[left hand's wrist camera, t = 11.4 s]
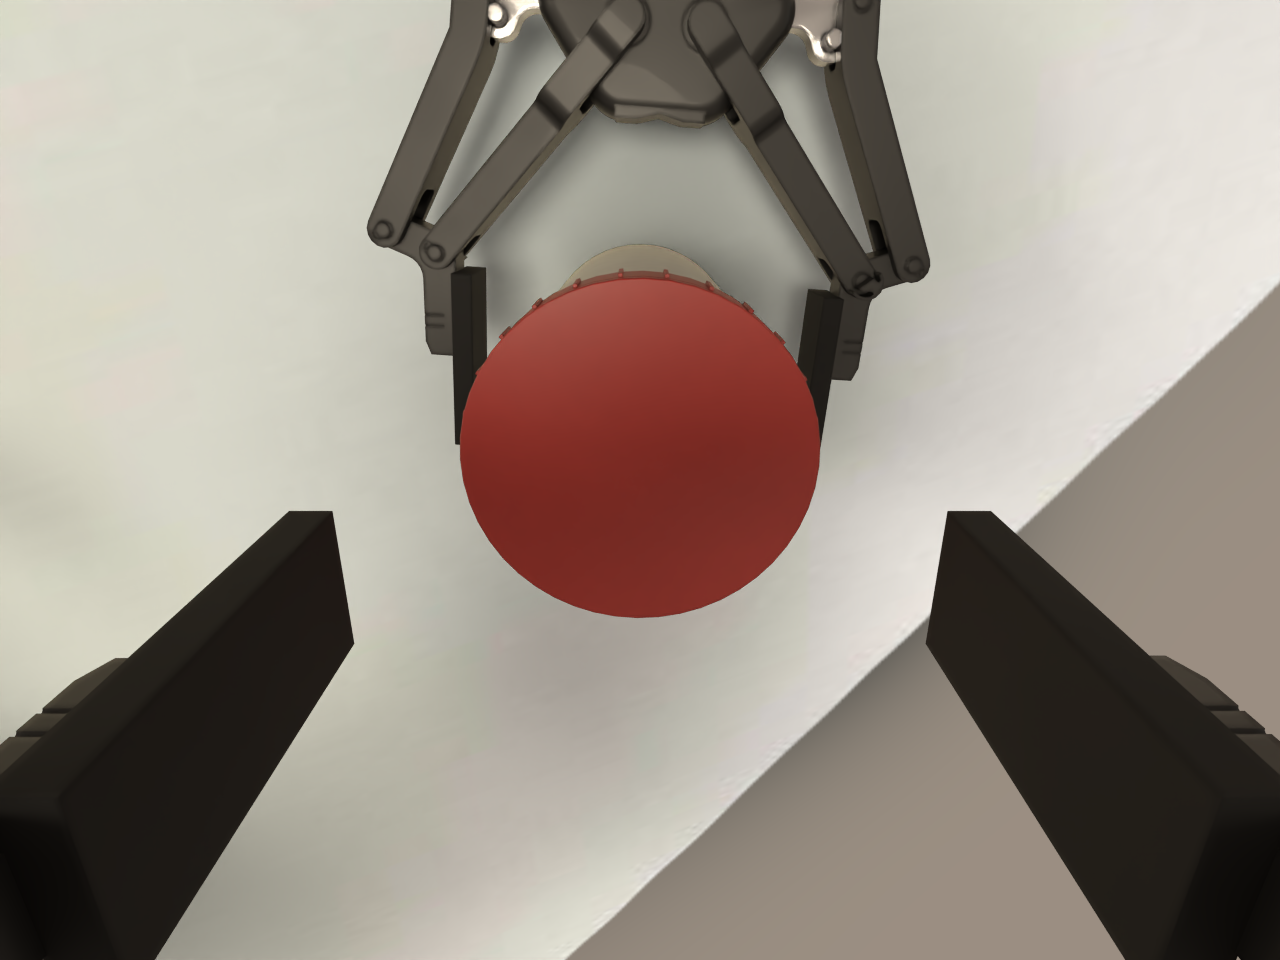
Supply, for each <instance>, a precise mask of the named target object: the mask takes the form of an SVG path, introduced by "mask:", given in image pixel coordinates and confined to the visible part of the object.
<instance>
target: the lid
mask: <svg viewBox="0 0 1280 960" xmlns="http://www.w3.org/2000/svg"><path fill="white" fill-rule="evenodd" d="M753 312H754V310H753V309H752V308H751V307H750V306H749V305H748V304H747V303H746V302H744V303H743V305H742V304H741V303H740V302H738V301H737V300H736V299H734V298H733V297H731V296H729V295H727V294H726V293H724V292H722V291H720V290H718V289H716V288H715V287H714V286H713V285H712V284H711V282H709V281H706V283H702V282H700V281H697V280H694V279H692V278H688V277H684V276H679V275H675V274H671V273H669V272H668V270H667V269H664V271H663V272H653V271H625V272H624V270H623V268H621V269H619V272H616V273H610V274H605V275H600V276H595V277H592V278H589V279H586V280H583V281H581V279H580V278H578V279H576V280H575V282H574V283H573V284H572V285H570V286H568V287H566V288H564V289H562V290H560V291H558V292H556V293H554V294H552V295H551V296H549V297H548V298H546V299H545V300H542V298H540V299H538V300H537V301H536V303H535V304H534V305H533V306H532V309H531V310H530V311H529V312H528V313H527V314H525V315H524V316H523V317H522V318H521V319H520V320H519V321H518V322H517V323H516V324H515V325H514V326H513V327H512V328H511V327H510V326H509V327H508V328H507V329H506V330H505V331H504V332H503V333H502V334H501V335H500V336H499V338H500V339H501V340H500V342H499V343H498V344H497V345H496V346H495V348H494V349H493V350H492V351H491V353H490V354H489V356H488V358H487V359H486V361H485V362H484V364H483V365H482V366H481V367H480V368H479V369H478V370H477V372H476V375H477V377H476V379H475V381H474V383H473V386H472V388H471V390H470V392H469V396H468V399H467V403H466V406H465V410H464V411H463V419H462V427H461V434H460V462H461V469H462V476H463V482H464V485H465V489H466V492H467V496H468V499H469V503H470V505H471V507H472V510H473V512H474V514H475V516H476V519H477V521H478V523H479V525H480V526H481V528H482V530H483V531H484V533H485V535H486V536H487V538H488V540H489V541H490V543H491V544H492V545H493V546H494V548H495V549H496V550H497V551H498V553H499V554H500V555H501V556H502V558H503V559H504V560H505V561H506V562H507V563H508V564H509V565H510V566H511V567H512V568H513V569H515V570H516V571H517V572H518V573H519V574H520V575H521V576H523V577H524V578H525V579H527V580H528V581H529V582H530V583H532V584H533V585H534V586H536V587H537V588H539V589H541V590H543V591H544V592H546V593H548V594H549V595H551V596H553V597H555V598H557V599H559V600H561V601H564V602H566V603H568V604H570V605H573V606H575V607H579V608H582V609H585V610H588V611H592V612H595V613H601V614H606V615H611V616H618V617H632V618H646V617H662V616H668V615H675V614H681V613H684V612H688V611H691V610H695V609H699V608H702V607H704V606H707V605H709V604H712V603H714V602H717V601H719V600H721V599H723V598H725V597H727V596H729V595H731V594H732V593H734V592H736V591H738V590H740V589H741V588H742V587H744V586H745V585H747V584H748V583H749V582H751V581H752V580H754V579H755V578H757V577H758V576H759V575H760V574H761V573H762V572H763V571H764V570H765V569H766V568H768V567H769V566H770V565H771V564H772V563H773V562H774V561H775V560H776V558H777V557H778V556H779V555H780V554H781V553H782V551H783V550H784V549H785V548H786V547H787V545H788V544H789V542H790V541H791V539H792V538H793V536H794V535H795V533H796V532H797V530H798V529H799V527H800V525H801V523H802V520H803V518H804V516H805V514H806V512H807V510H808V508H809V505H810V502H811V499H812V496H813V493H814V490H815V486H816V481H817V475H818V470H819V460H820V436H819V426H818V417H817V415H816V410H815V406H814V402H813V398H812V396H811V393H810V391H809V388H808V386H807V383H806V381H807V378H806V376H805V375H804V374H803V373H802V372H801V371H800V369H799V367H798V366H797V364H796V362H795V360H794V359H793V357H792V356H791V354H790V353H789V352H788V350H787V349H786V348H785V347H784V344H785V343H786V342H785V341H784V340H783V339H782V338H781V337H780V336H779V335H778V334H777V333H776V332H774V333H773V332H772V331H771V330H770V329H769V328H768V327H767V326H766V325H765V324H764V323H763V322H762V321H761V320H760V319H759V318H758V317H757V316H756V315H755V314H754V313H753Z"/></svg>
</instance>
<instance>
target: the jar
mask: <svg viewBox="0 0 1280 960" xmlns="http://www.w3.org/2000/svg"><path fill="white" fill-rule="evenodd" d="M621 268H623V270H624V272H625V271H653V272H663V271H664V269H667V270H668V272H669V273H671V274H675V275H679V276H684V277H688V278H692V279H694V280H697V281H700V282H702V283H706V281H709V282H711V284H712V285H713V286H714V287H715V288H716V289H718V290H720V289H719V288H718V286H717V285H716V284H715V283H714V281H713V280H712V279H711V278H710V276H709V275H708V274H707V273H706V272H705V271H704V270H703V269H702V268H701V267H700V266H699V265H697V264H696V263H694V262H693V261H692V260H690V259H689V258H687V257H685V256H683V255H682V254H680V253H678V252H675V251H673V250H670V249H667V248H664V247H659V246H655V245H645V244H637V245H626V246H621V247H616V248H613V249H610V250H607V251H604V252H602V253H600V254H598V255H596V256H594V257H593V258H591V259H590V260H588V261H587V262H585V263H584V264H583V265H582V266H581V267H579V268H578V269H577V270H576V271H575V272H574V273H573V274H572V275H571V277H570V278H569V279H568V280H567V281H566V283H565V284H564V285H563V286H562V288H561V289H560V290H562V289H564V288H566V287H568V286H570V285H572V284H573V283H574V282H575V280H576V279H578V278H580V279H581V281H583V280H586V279H589V278H592V277H595V276H600V275H605V274H610V273H616V272H619V269H621ZM560 290H559V291H560ZM720 291H721V290H720Z"/></svg>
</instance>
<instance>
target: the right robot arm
mask: <svg viewBox="0 0 1280 960" xmlns="http://www.w3.org/2000/svg"><path fill="white" fill-rule="evenodd" d="M880 3H881V0H451V13H450V27H449V29H448V32H447V34H446V37H445V39H444V41H443V44H442V46H441V49H440V51H439V53H438V56H437V58H436V60H435V63H434V65H433V68H432V70H431V72H430V75H429V77H428V80H427V82H426V84H425V87H424V89H423V91H422V94H421V96H420V99H419V101H418V103H417V106H416V108H415V111H414V113H413V115H412V118H411V120H410V122H409V125H408V127H407V130H406V132H405V134H404V137H403V139H402V142H401V144H400V146H399V149H398V151H397V153H396V156H395V158H394V161H393V163H392V165H391V168H390V170H389V173H388V175H387V177H386V180H385V182H384V184H383V187H382V189H381V192H380V194H379V196H378V199H377V201H376V204H375V206H374V208H373V211H372V213H371V215H370V218H369V220H368V224H367V231H368V235H369V237H370V239H371V240H372V241H373V242H374V243H375V244H376V245H377V246H380V247H383V248H386V247H389V248H391V249H393V250H395V251H398V252H400V253H402V254H405V255H407V256H409V257H411V258H412V259H414V260H415V261H416V262H417V263H418V265H419V266H420V268H421V270H422V273H423V280H424V305H425V324H426V327H425V330H426V342H427V344H428V347H429V349H430V351H431V354H436V355H452V356H453V380H454V416H455V444H457V445H460V434H461V427H462V419H463V411H464V410H465V406H466V403H467V399H468V396H469V392H470V390H471V388H472V386H473V383H474V381H475V379H476V377H477V375H476V372H477V370H478V369H479V368H480V367H481V366H482V365H483V364H484V362H485V361H486V359H487V316H486V268H484V267H469V266H467V267H464V260H465V259H466V258H467V256H466V255H467V254H468V253H469V252H470V250H471V249H472V248H473V247H474V246H475V244H476V243H477V242H478V241H479V240H480V238H481V237H482V236H483V235H484V234H485V233H486V231H487V230H488V229H489V228H490V227H491V225H492V224H493V223H494V222H495V221H496V219H497V218H498V217H499V216H500V215H501V213H502V212H503V211H504V210H505V209H506V207H507V206H508V205H509V204H510V203H511V201H512V200H513V199H514V198H515V197H516V195H517V194H518V193H519V192H520V191H521V190H522V188H523V187H524V186H525V185H526V184H527V182H528V181H529V180H530V179H531V178H532V176H533V175H534V174H535V173H536V172H537V170H538V169H539V168H540V167H541V166H542V164H543V163H544V162H545V161H546V160H547V158H548V157H549V156H550V155H551V154H552V152H553V151H554V150H555V149H556V148H557V147H558V145H559V144H560V143H561V142H562V141H563V139H564V138H565V137H566V136H567V135H568V134H569V133H570V132H571V131H572V130H573V129H574V128H575V127H576V126H577V125H578V124H579V123H580V121H581V120H582V119H583V118H584V117H585V115H586V114H587V113H588V112H589V111H590V110H591V108H592V107H593V106H594V105H595V106H596V108H597V109H598V110H599V111H600V112H602V113H603V114H604V115H606V116H608V117H609V118H611V119H614V120H615V121H616V122H618V123H632V124H638V123H643V122H647V121H652V120H656V119H660V120H663V121H665V122H668V123H671V124H673V125H676V126H679V127H688V128H701V127H702V126H705V125H708V124H711V123H713V122H715V121H717V120H718V119H719V118H721V117H722V116H723V115H724V116H725V118H726V119H727V121H728V123H729V124H730V126H731V127H732V129H733V131H734V132H735V134H736V135H737V137H738V138H739V140H740V141H741V142H742V143H743V144H744V145H745V147H746V148H747V149H748V151H749V153H750V154H751V156H752V157H753V159H754V161H755V162H756V164H757V165H758V167H759V169H760V170H761V172H762V173H763V175H764V177H765V178H766V180H767V181H768V183H769V185H770V186H771V188H772V189H773V191H774V193H775V194H776V196H777V197H778V199H779V201H780V202H781V204H782V205H783V207H784V209H785V210H786V212H787V213H788V215H789V217H790V218H791V220H792V221H793V223H794V225H795V226H796V228H797V229H798V231H799V233H800V234H801V236H802V237H803V239H804V241H805V242H806V244H807V245H808V247H809V249H810V250H811V252H812V253H813V255H814V257H815V258H816V260H817V261H818V263H819V265H820V266H821V268H822V269H823V271H824V273H825V274H826V276H827V277H828V279H829V281H830V282H831V286H830V292H829V291H827V290H815V289H808V294H807V301H806V308H805V315H804V321H803V328H802V335H801V342H800V349H799V356H798V363H797V366H798V367H799V369H800V371H801V372H802V373H803V374H804V375H805V376H806V378H807V381H806V383H807V386H808V388H809V391H810V393H811V396H812V398H813V402H814V406H815V410H816V415H817V417H818V426H819V436H820V446H821V440H822V434H823V428H824V422H825V415H826V409H827V403H828V397H829V391H830V385H831V379H832V380H848V381H851V380H852V378H853V376H854V375H855V373H856V371H857V370H858V367H859V361H860V356H861V354H860V353H861V350H862V342H863V338H864V333H865V327H866V321H867V315H868V310H869V305H870V302H871V300H872V299H873V298H876V297H877V296H878V295H879V294H880V293H881V291H882V290H883V289H885V288H888V287H891V286H895V285H898V284H902V283H905V282H909V283H913V282H918V281H920V280H921V279H923V278H924V277H925V276H926V274H927V273H928V271H929V268H930V258H929V254H928V250H927V247H926V243H925V239H924V235H923V232H922V228H921V224H920V220H919V216H918V213H917V209H916V205H915V201H914V197H913V194H912V190H911V186H910V182H909V178H908V175H907V171H906V167H905V163H904V159H903V156H902V152H901V148H900V144H899V141H898V137H897V133H896V129H895V125H894V122H893V118H892V114H891V110H890V106H889V103H888V99H887V95H886V91H885V87H884V84H883V80H882V76H881V72H880V68H879V65H878V61H877V51H878V35H879V19H880ZM535 14H541V15H542V16H543V18H544V20H545V22H546V24H547V26H548V27H549V29H550V31H551V32H552V34H553V36H554V38H555V39H556V41H557V43H558V44H559V46H560V48H561V50H562V51H563V53H564V55H565V56H566V59H565V60H564V62H563V63H562V64H561V65H560V67H559V68H558V69H557V70H556V72H555V73H554V74H553V75H552V77H551V78H550V79H549V80H548V81H547V83H546V84H545V85H544V87H543V88H542V89H541V91H540V92H539V94H538V96H537V98H536V100H535V101H534V103H533V104H532V105H531V107H530V108H529V109H528V110H527V112H526V113H525V114H524V115H523V117H522V118H521V119H520V120H519V121H518V123H517V124H516V125H515V126H514V128H513V129H512V130H511V131H510V133H509V134H508V135H507V136H506V138H505V139H504V140H503V141H502V142H501V144H500V145H499V146H498V147H497V149H496V150H495V151H494V152H493V154H492V155H491V156H490V157H489V158H488V160H487V161H486V162H485V163H484V165H483V166H482V167H481V168H480V170H479V171H478V172H477V173H476V175H475V176H474V177H473V178H472V179H471V181H470V182H469V183H468V184H467V186H466V187H465V188H464V189H463V191H462V192H461V193H460V194H459V196H458V197H457V198H456V199H455V200H454V202H453V203H452V204H451V205H450V207H449V208H448V209H447V210H446V212H445V213H444V214H443V215H442V216H441V218H440V219H439V220H438V221H437V223H436V224H435V225H432V224H430V223H428V222H426V221H425V219H426V217H427V215H428V213H429V210H430V208H431V206H432V204H433V201H434V199H435V197H436V195H437V192H438V190H439V188H440V186H441V183H442V181H443V179H444V177H445V174H446V172H447V170H448V168H449V165H450V163H451V161H452V159H453V156H454V154H455V152H456V150H457V147H458V145H459V143H460V141H461V138H462V136H463V134H464V132H465V130H466V127H467V125H468V123H469V121H470V118H471V116H472V114H473V112H474V109H475V107H476V105H477V103H478V100H479V98H480V96H481V94H482V91H483V89H484V87H485V85H486V82H487V80H488V78H489V76H490V73H491V71H492V68H493V65H494V63H495V60H496V56H497V52H498V48H499V42H500V43H508V42H511V41H513V40H514V39H516V37H517V36H518V35H519V32H520V29H521V27H522V24H523V22H524V21H525V20H526V19H527V18H528V17H529V16H531V15H535ZM789 33H791V34H795V35H797V36H799V37H800V38H801V39H802V40H803V42H804V44H805V47H806V51H807V56H808V58H809V60H810V61H811V62H812V63H813V64H815V65H817V66H821V67H824V72H825V81H826V87H827V92H828V96H829V100H830V103H831V107H832V110H833V114H834V117H835V121H836V124H837V128H838V131H839V135H840V138H841V141H842V145H843V148H844V152H845V155H846V159H847V162H848V166H849V169H850V173H851V176H852V180H853V183H854V186H855V190H856V193H857V197H858V200H859V204H860V207H861V211H862V214H863V218H864V221H865V224H866V228H867V231H868V235H869V238H870V242H871V245H872V249H873V252H870V253H867V254H865V252H864V250H863V249H862V247H861V245H860V244H859V242H858V240H857V239H856V237H855V235H854V234H853V232H852V230H851V229H850V227H849V225H848V224H847V222H846V220H845V219H844V217H843V215H842V214H841V212H840V210H839V209H838V207H837V205H836V204H835V202H834V200H833V199H832V197H831V195H830V194H829V192H828V190H827V189H826V187H825V185H824V184H823V182H822V180H821V179H820V177H819V175H818V174H817V172H816V170H815V169H814V167H813V165H812V164H811V162H810V160H809V159H808V157H807V155H806V154H805V152H804V150H803V149H802V147H801V145H800V144H799V142H798V140H797V139H796V137H795V135H794V134H793V132H792V130H791V129H790V127H789V125H788V124H787V122H786V120H785V118H784V114H783V111H782V109H781V107H780V105H779V103H778V101H777V99H776V98H775V96H774V94H773V93H772V91H771V89H770V88H769V86H768V84H767V83H766V81H765V79H764V78H763V76H762V74H761V73H760V70H761V69H762V67H763V66H764V65H765V64H766V62H767V61H768V60H769V58H770V57H771V56H772V55H773V53H774V52H775V51H776V50H777V48H778V47H779V46H780V44H781V43H782V42H783V41H784V39H785V38H786V37H787V35H788V34H789Z"/></svg>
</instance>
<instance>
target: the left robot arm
mask: <svg viewBox="0 0 1280 960" xmlns="http://www.w3.org/2000/svg"><path fill="white" fill-rule="evenodd" d="M353 645H354V639H353V633H352V627H351V621H350V615H349V609H348V603H347V597H346V591H345V585H344V578H343V572H342V566H341V560H340V554H339V548H338V542H337V536H336V530H335V524H334V518H333V512H332V511H289V512H288V513H286V514H285V515H284V516H283V517H282V518H281V519H280V520H279V521H278V522H277V523H276V524H274V525H273V526H272V527H271V528H270V529H269V530H268V531H267V532H266V533H265V534H263V535H262V536H261V537H260V538H259V539H258V540H257V541H256V542H255V543H254V544H253V545H251V546H250V547H249V548H248V549H247V550H246V551H245V552H244V553H243V554H242V555H240V556H239V557H238V558H237V559H236V560H235V561H234V562H233V563H232V564H231V565H230V566H228V567H227V568H226V569H225V570H224V571H223V572H222V573H221V574H220V575H219V576H217V577H216V578H215V579H214V580H213V581H212V582H211V583H210V584H209V585H208V586H206V587H205V588H204V589H203V590H202V591H201V592H200V593H199V594H198V595H197V596H196V597H194V598H193V599H192V600H191V601H190V602H189V603H188V604H187V605H186V606H185V607H183V608H182V609H181V610H180V611H179V612H178V613H177V614H176V615H175V616H174V617H173V618H171V619H170V620H169V621H168V622H167V623H166V624H165V625H164V626H163V627H162V628H160V629H159V630H158V631H157V632H156V633H155V634H154V635H153V636H152V637H151V638H150V639H148V640H147V641H146V642H145V643H144V644H143V645H142V646H141V647H140V648H139V649H137V650H136V651H135V652H134V653H133V654H132V655H131V656H130V657H129V658H115V659H113V660H111V661H109V662H108V663H106V664H104V665H102V666H100V667H99V668H97V669H95V670H93V671H91V672H90V673H88V674H86V675H84V676H82V677H81V678H79V679H77V680H75V681H74V682H72V683H71V684H70V685H69V686H68V687H67V688H65V689H64V690H63V691H62V692H61V693H60V694H59V695H57V696H56V697H55V698H54V699H53V700H52V701H50V702H49V703H48V704H47V705H46V706H45V707H44V708H43V711H42V713H41V714H35V715H34V716H33V717H32V718H31V719H30V720H29V721H27V722H26V723H25V724H24V725H23V726H22V727H20V728H19V729H18V730H17V731H16V736H15V737H9V738H8V739H7V740H5V741H4V742H3V743H2V744H1V745H0V960H155V959H156V957H157V955H158V954H159V952H160V951H161V949H162V947H163V946H164V944H165V943H166V941H167V940H168V938H169V936H170V935H171V933H172V932H173V930H174V928H175V927H176V925H177V924H178V922H179V921H180V919H181V917H182V916H183V914H184V913H185V911H186V909H187V908H188V906H189V905H190V903H191V902H192V900H193V898H194V897H195V895H196V894H197V892H198V890H199V889H200V887H201V886H202V884H203V883H204V881H205V879H206V878H207V876H208V875H209V873H210V871H211V870H212V868H213V867H214V865H215V864H216V862H217V860H218V859H219V857H220V856H221V854H222V852H223V851H224V849H225V848H226V846H227V845H228V843H229V841H230V840H231V838H232V837H233V835H234V833H235V832H236V830H237V829H238V827H239V825H240V824H241V822H242V821H243V819H244V818H245V816H246V814H247V813H248V811H249V810H250V808H251V806H252V805H253V803H254V802H255V800H256V799H257V797H258V795H259V794H260V792H261V791H262V789H263V787H264V786H265V784H266V783H267V781H268V780H269V778H270V776H271V775H272V773H273V772H274V770H275V768H276V767H277V765H278V764H279V762H280V761H281V759H282V757H283V756H284V754H285V753H286V751H287V749H288V748H289V746H290V745H291V743H292V742H293V740H294V738H295V737H296V735H297V734H298V732H299V730H300V729H301V727H302V726H303V724H304V723H305V721H306V719H307V718H308V716H309V715H310V713H311V711H312V710H313V708H314V707H315V705H316V703H317V702H318V700H319V699H320V697H321V696H322V694H323V692H324V691H325V689H326V688H327V686H328V684H329V683H330V681H331V680H332V678H333V677H334V675H335V673H336V672H337V670H338V669H339V667H340V665H341V664H342V662H343V661H344V659H345V658H346V656H347V654H348V653H349V651H350V650H351V648H352V646H353ZM926 645H927V646H928V648H929V650H930V651H931V653H932V654H933V656H934V658H935V659H936V661H937V662H938V664H939V665H940V667H941V669H942V670H943V672H944V673H945V675H946V677H947V678H948V680H949V681H950V683H951V684H952V686H953V688H954V689H955V691H956V692H957V694H958V696H959V697H960V699H961V700H962V702H963V703H964V705H965V707H966V708H967V710H968V711H969V713H970V715H971V716H972V718H973V719H974V721H975V723H976V724H977V726H978V727H979V729H980V730H981V732H982V734H983V735H984V737H985V738H986V740H987V742H988V743H989V745H990V746H991V748H992V749H993V751H994V753H995V754H996V756H997V757H998V759H999V761H1000V762H1001V764H1002V765H1003V767H1004V768H1005V770H1006V772H1007V773H1008V775H1009V776H1010V778H1011V780H1012V781H1013V783H1014V784H1015V786H1016V787H1017V789H1018V791H1019V792H1020V794H1021V795H1022V797H1023V798H1024V800H1025V802H1026V803H1027V805H1028V806H1029V808H1030V810H1031V811H1032V813H1033V814H1034V816H1035V817H1036V819H1037V821H1038V822H1039V824H1040V825H1041V827H1042V829H1043V830H1044V832H1045V833H1046V835H1047V837H1048V838H1049V840H1050V841H1051V843H1052V844H1053V846H1054V848H1055V849H1056V851H1057V852H1058V854H1059V856H1060V857H1061V859H1062V860H1063V862H1064V864H1065V865H1066V867H1067V868H1068V870H1069V871H1070V873H1071V875H1072V876H1073V878H1074V879H1075V881H1076V882H1077V884H1078V886H1079V887H1080V889H1081V890H1082V892H1083V894H1084V895H1085V897H1086V898H1087V900H1088V901H1089V903H1090V905H1091V906H1092V908H1093V909H1094V911H1095V913H1096V914H1097V916H1098V917H1099V919H1100V921H1101V922H1102V924H1103V925H1104V927H1105V928H1106V930H1107V932H1108V933H1109V935H1110V936H1111V938H1112V940H1113V941H1114V943H1115V944H1116V946H1117V947H1118V949H1119V951H1120V952H1121V954H1122V955H1123V957H1124V959H1125V960H1236V959H1237V956H1238V957H1239V958H1240V959H1241V960H1280V741H1279V740H1278V739H1277V738H1275V737H1274V736H1273V735H1272V734H1266V733H1265V728H1264V727H1263V726H1261V725H1260V724H1259V723H1258V722H1257V721H1256V720H1255V719H1253V718H1252V717H1251V716H1250V715H1249V714H1247V713H1246V712H1245V711H1239V709H1238V705H1237V704H1236V703H1235V702H1234V701H1232V700H1231V699H1230V698H1229V697H1228V696H1227V695H1225V694H1224V693H1223V692H1222V691H1221V690H1220V689H1218V688H1217V687H1216V686H1215V685H1214V684H1213V683H1212V682H1210V681H1209V680H1208V679H1207V678H1205V677H1203V676H1201V675H1200V674H1198V673H1196V672H1194V671H1192V670H1190V669H1189V668H1187V667H1185V666H1183V665H1181V664H1180V663H1178V662H1176V661H1174V660H1172V659H1171V658H1169V657H1167V656H1149V655H1148V654H1147V653H1146V652H1145V651H1144V650H1143V649H1141V648H1140V647H1139V646H1138V645H1137V644H1136V643H1135V642H1134V641H1133V640H1132V639H1130V638H1129V637H1128V636H1127V635H1126V634H1125V633H1124V632H1123V631H1122V630H1121V629H1119V628H1118V627H1117V626H1116V625H1115V624H1114V623H1113V622H1112V621H1111V620H1110V619H1109V618H1107V617H1106V616H1105V615H1104V614H1103V613H1102V612H1101V611H1100V610H1099V609H1098V608H1097V607H1095V606H1094V605H1093V604H1092V603H1091V602H1090V601H1089V600H1088V599H1087V598H1085V597H1084V596H1083V595H1082V594H1081V593H1080V592H1079V591H1078V590H1077V589H1076V588H1075V587H1074V586H1072V585H1071V584H1070V583H1069V582H1068V581H1067V580H1066V579H1065V578H1064V577H1063V576H1061V575H1060V574H1059V573H1058V572H1057V571H1056V570H1055V569H1054V568H1053V567H1052V566H1050V565H1049V564H1048V563H1047V562H1046V561H1045V560H1044V559H1043V558H1042V557H1041V556H1040V555H1038V554H1037V553H1036V552H1035V551H1034V550H1033V549H1032V548H1031V547H1030V546H1029V545H1027V544H1026V543H1025V542H1024V541H1023V540H1022V539H1021V538H1020V537H1019V536H1018V535H1017V534H1015V533H1014V532H1013V531H1012V530H1011V529H1010V528H1009V527H1008V526H1007V525H1006V524H1004V523H1003V522H1002V521H1001V520H1000V519H999V518H998V517H997V516H996V515H995V514H994V513H992V512H991V511H948V512H947V518H946V524H945V530H944V536H943V542H942V548H941V554H940V560H939V566H938V572H937V578H936V585H935V591H934V597H933V603H932V609H931V615H930V621H929V627H928V633H927V639H926Z"/></svg>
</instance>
